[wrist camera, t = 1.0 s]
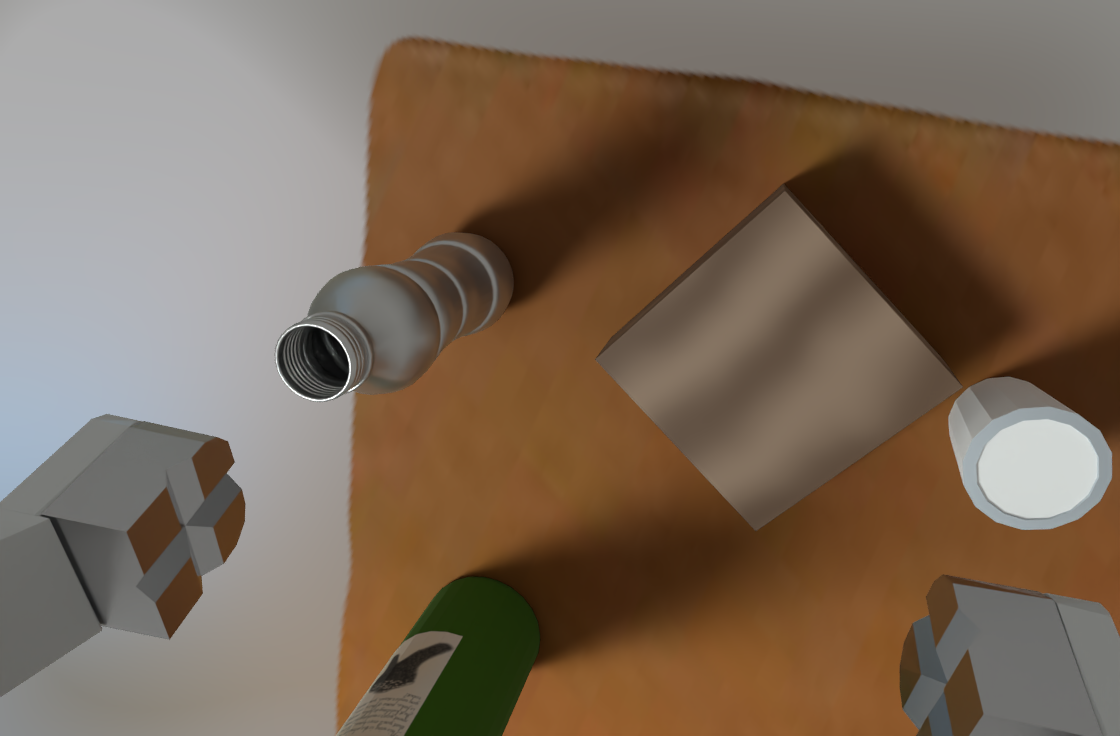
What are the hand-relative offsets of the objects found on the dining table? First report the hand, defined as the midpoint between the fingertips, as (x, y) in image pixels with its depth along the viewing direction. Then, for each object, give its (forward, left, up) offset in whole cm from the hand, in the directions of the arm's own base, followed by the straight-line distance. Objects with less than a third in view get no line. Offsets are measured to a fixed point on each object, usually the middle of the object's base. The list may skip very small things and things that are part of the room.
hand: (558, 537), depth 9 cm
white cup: (-20, -3, -41) cm, 46 cm away
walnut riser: (-8, +4, -41) cm, 42 cm away
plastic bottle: (+8, +15, -41) cm, 45 cm away
